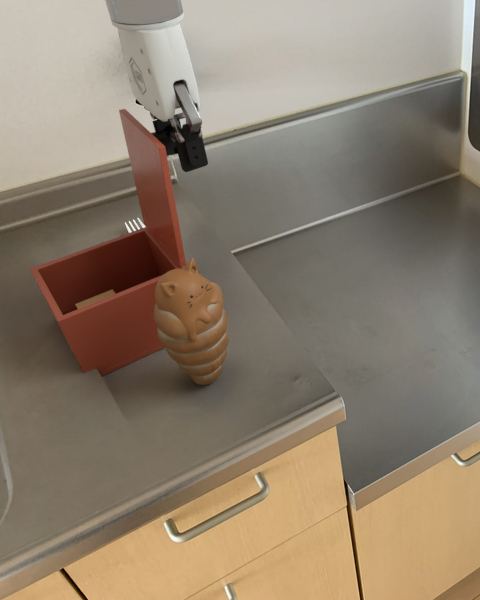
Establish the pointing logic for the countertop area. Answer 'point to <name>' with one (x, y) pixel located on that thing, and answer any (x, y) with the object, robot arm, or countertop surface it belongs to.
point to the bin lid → (154, 182)
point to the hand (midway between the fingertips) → (183, 156)
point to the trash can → (107, 299)
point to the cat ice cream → (192, 322)
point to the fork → (133, 226)
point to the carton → (95, 299)
